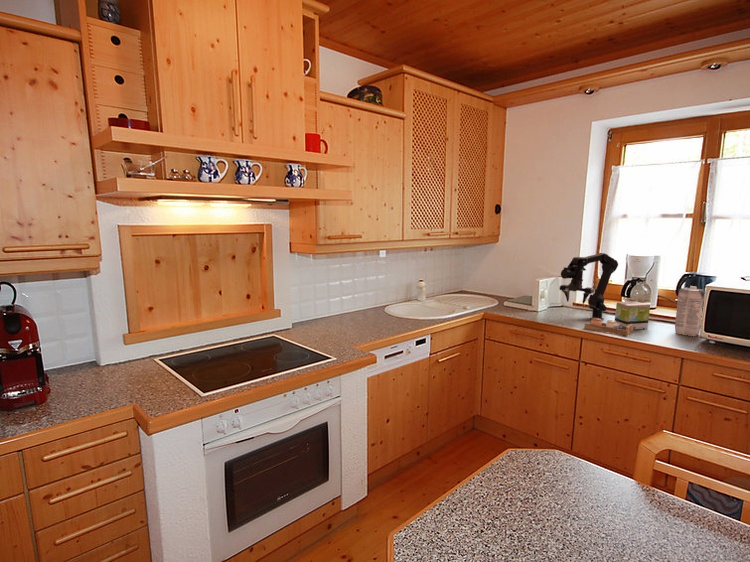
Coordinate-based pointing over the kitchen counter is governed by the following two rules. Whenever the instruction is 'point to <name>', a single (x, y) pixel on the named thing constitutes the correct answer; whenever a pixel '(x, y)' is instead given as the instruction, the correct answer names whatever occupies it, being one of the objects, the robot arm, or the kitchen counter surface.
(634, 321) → the tea box
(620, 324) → the pusher plate
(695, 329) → the juice carton
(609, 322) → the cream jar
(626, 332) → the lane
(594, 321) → the pinkish tan cube
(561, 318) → the kitchen counter surface
